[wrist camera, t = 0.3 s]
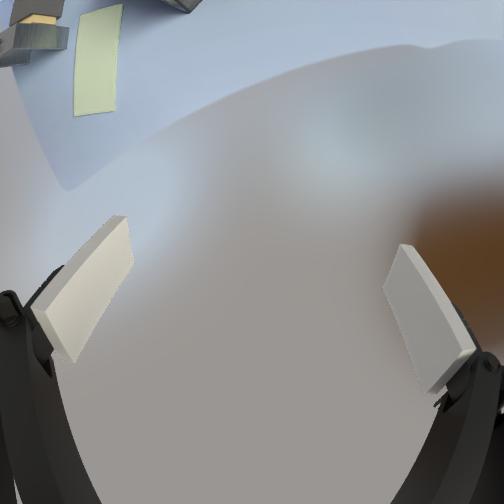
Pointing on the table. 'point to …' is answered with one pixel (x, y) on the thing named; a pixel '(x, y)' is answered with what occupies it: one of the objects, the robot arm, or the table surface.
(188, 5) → the small box
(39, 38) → the frame
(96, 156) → the table surface
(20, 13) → the plug
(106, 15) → the mat
